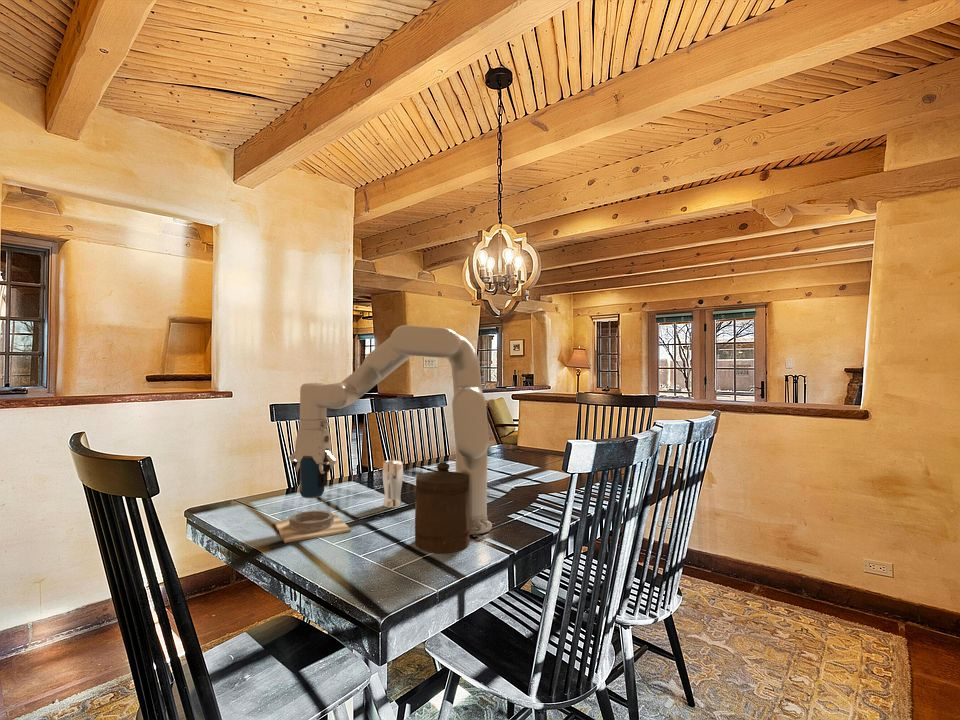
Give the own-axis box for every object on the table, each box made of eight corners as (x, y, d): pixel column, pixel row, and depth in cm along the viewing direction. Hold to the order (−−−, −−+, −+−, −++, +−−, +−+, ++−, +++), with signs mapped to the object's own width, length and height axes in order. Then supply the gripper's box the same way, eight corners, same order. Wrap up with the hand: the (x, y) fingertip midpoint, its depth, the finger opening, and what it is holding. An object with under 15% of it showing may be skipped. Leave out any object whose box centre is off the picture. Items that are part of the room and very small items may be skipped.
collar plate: (350, 531, 143) (350, 520, 143) (284, 542, 133) (284, 530, 133) (334, 515, 158) (334, 504, 158) (274, 523, 149) (274, 513, 149)
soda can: (329, 494, 147) (330, 454, 147) (310, 500, 141) (311, 458, 141) (313, 491, 151) (313, 452, 151) (294, 496, 145) (295, 455, 145)
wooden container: (441, 530, 145) (442, 455, 145) (480, 542, 136) (481, 462, 136) (403, 544, 133) (404, 462, 134) (443, 558, 124) (444, 471, 124)
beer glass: (391, 501, 174) (391, 459, 174) (406, 504, 170) (407, 461, 171) (377, 506, 168) (378, 462, 168) (393, 509, 165) (394, 464, 165)
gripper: (345, 425, 147) (344, 485, 147) (297, 422, 152) (296, 479, 152) (330, 428, 140) (329, 491, 139) (280, 424, 145) (279, 485, 145)
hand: (312, 484), depth 146 cm, fingers closed on soda can, 6 cm apart
